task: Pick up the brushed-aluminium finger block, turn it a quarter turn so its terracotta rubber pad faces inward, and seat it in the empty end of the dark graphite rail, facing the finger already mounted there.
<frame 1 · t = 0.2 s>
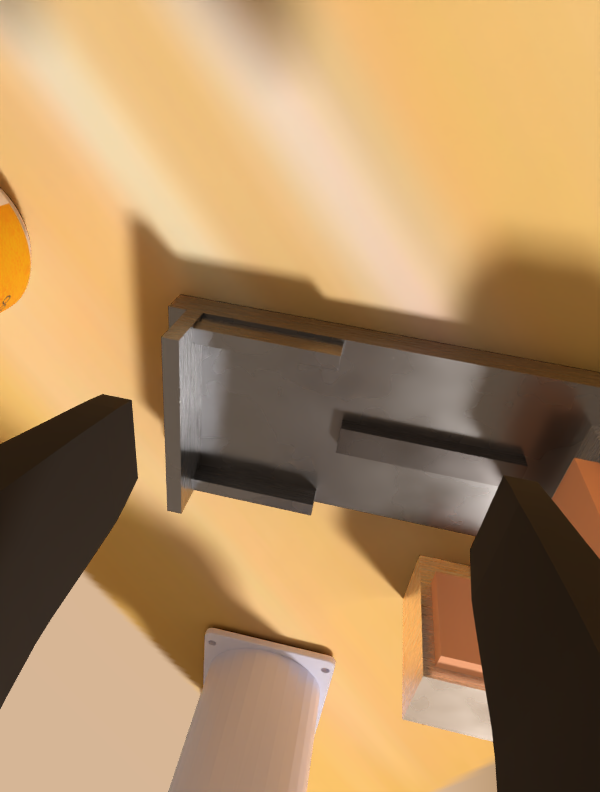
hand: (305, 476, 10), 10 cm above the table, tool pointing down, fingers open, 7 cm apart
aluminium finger: (460, 588, 25), on the table
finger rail: (427, 431, 21), on the table
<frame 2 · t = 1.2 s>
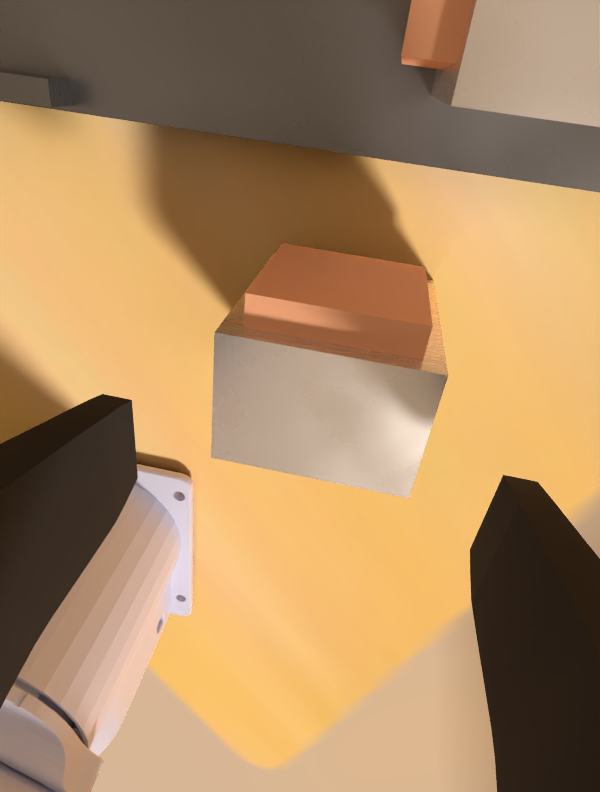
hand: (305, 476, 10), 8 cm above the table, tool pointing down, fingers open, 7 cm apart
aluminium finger: (343, 318, 17), on the table
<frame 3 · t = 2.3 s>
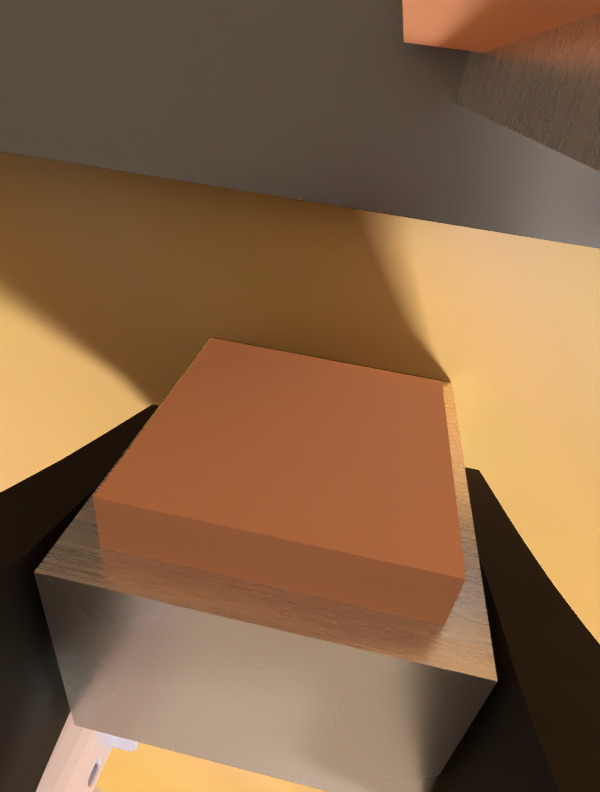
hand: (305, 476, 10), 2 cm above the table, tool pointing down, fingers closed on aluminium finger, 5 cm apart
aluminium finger: (317, 428, 11), on the table, touching gripper
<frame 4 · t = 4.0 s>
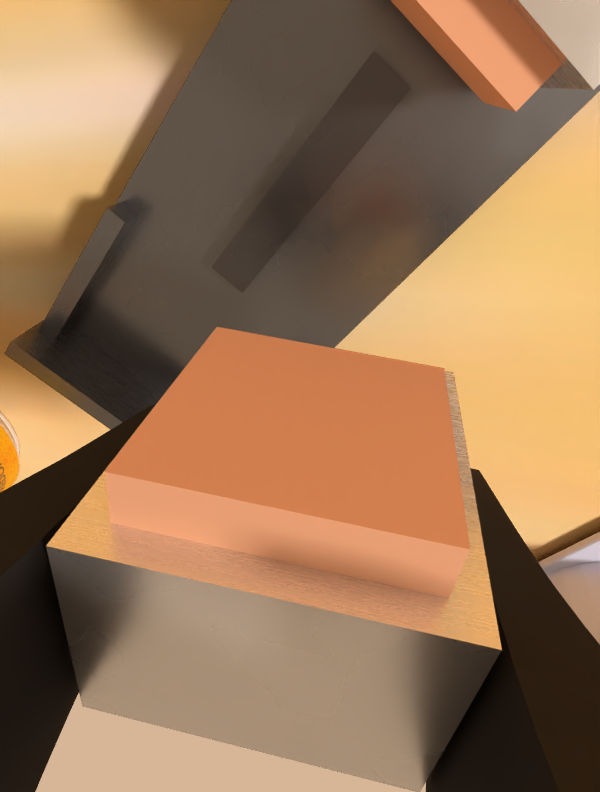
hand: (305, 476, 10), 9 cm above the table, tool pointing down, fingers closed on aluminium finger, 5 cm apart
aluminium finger: (320, 419, 11), point 7 cm above the table, touching gripper
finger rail: (309, 178, 15), on the table
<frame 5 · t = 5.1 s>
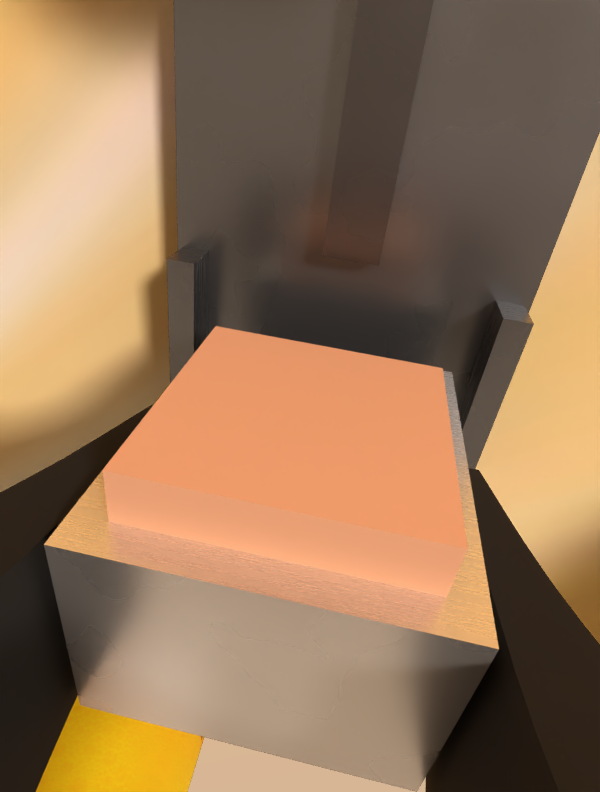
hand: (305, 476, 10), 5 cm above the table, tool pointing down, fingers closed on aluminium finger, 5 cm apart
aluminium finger: (319, 418, 11), point 3 cm above the table, touching gripper
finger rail: (388, 63, 10), on the table
beer can: (173, 589, 21), on the table
when the fingers open (4 cm above the table, at t = 5.9 s): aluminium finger stays where it is, resting on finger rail.
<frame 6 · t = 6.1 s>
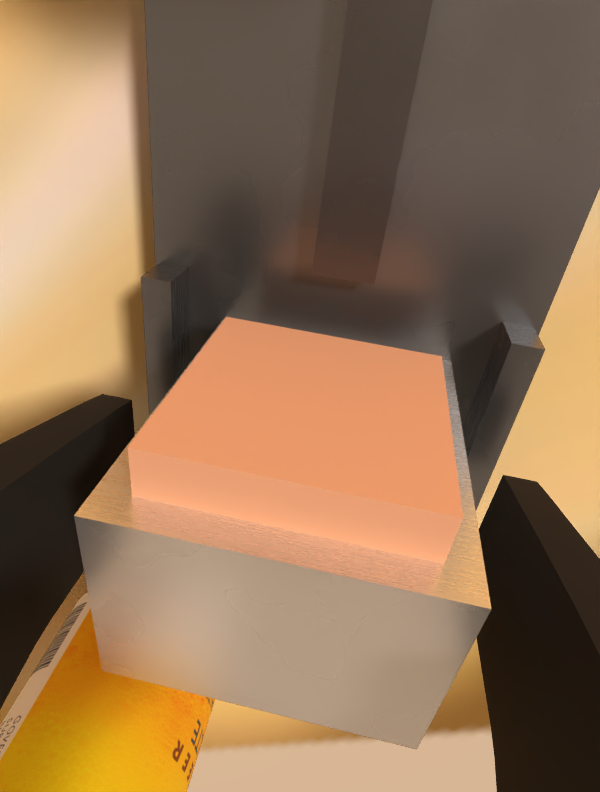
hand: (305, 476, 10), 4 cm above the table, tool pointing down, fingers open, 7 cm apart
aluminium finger: (323, 406, 12), point 1 cm above the table, touching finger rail
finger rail: (384, 61, 9), on the table
beer can: (161, 614, 20), on the table
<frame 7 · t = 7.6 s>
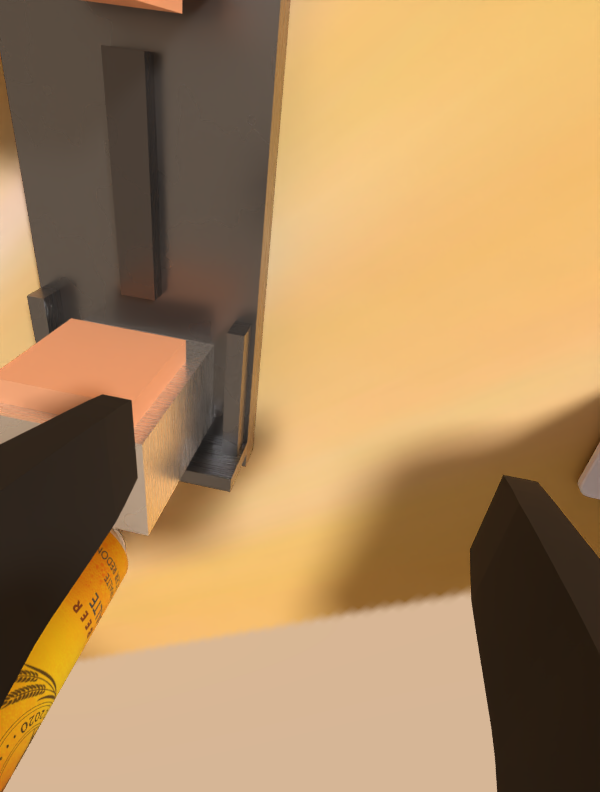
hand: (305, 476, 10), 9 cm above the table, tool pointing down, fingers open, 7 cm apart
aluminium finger: (150, 373, 19), point 1 cm above the table, touching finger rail
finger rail: (155, 178, 17), on the table
beer can: (83, 534, 28), on the table
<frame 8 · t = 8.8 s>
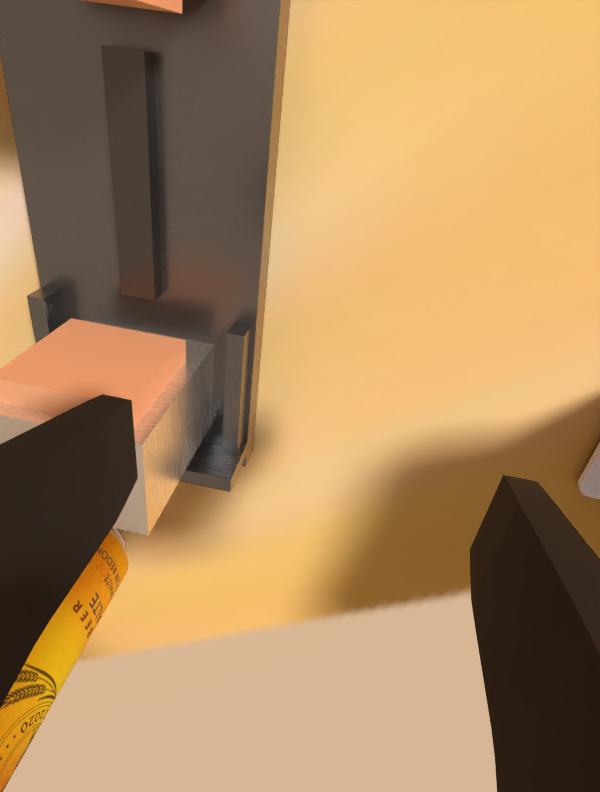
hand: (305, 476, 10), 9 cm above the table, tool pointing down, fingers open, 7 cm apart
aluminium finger: (150, 373, 19), point 1 cm above the table, touching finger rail
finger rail: (155, 178, 17), on the table
beer can: (83, 534, 28), on the table
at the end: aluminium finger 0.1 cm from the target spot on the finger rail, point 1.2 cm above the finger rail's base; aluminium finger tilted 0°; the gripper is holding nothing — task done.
